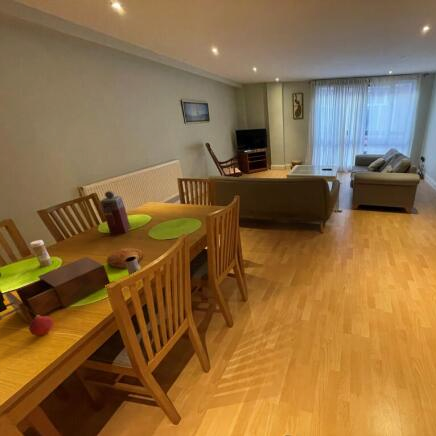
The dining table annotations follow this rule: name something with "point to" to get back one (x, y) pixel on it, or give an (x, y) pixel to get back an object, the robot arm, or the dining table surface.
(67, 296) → the cabinet
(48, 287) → the drawer
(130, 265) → the planter
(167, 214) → the dining table surface
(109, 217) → the maroon canister
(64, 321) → the dining table surface
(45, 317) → the onion
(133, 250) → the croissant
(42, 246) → the sprinkles bottle
